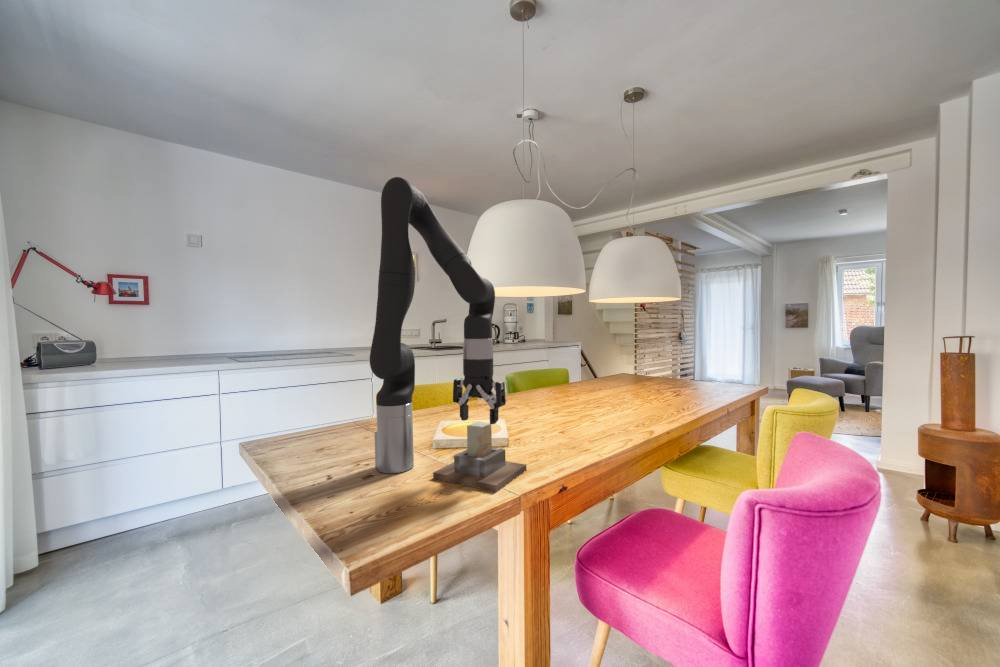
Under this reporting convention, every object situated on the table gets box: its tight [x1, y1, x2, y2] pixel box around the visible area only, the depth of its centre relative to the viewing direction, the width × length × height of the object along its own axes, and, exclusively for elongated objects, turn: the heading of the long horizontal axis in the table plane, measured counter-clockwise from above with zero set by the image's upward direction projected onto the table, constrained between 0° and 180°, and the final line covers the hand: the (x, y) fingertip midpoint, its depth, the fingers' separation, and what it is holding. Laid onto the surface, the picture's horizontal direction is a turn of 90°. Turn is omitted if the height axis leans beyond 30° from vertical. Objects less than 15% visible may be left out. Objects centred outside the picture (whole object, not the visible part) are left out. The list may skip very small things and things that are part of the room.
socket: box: [432, 446, 527, 493], centre depth 97 cm, size 18×15×6 cm
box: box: [466, 421, 493, 458], centre depth 97 cm, size 5×4×11 cm
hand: (478, 421), depth 97 cm, fingers open, 8 cm apart
